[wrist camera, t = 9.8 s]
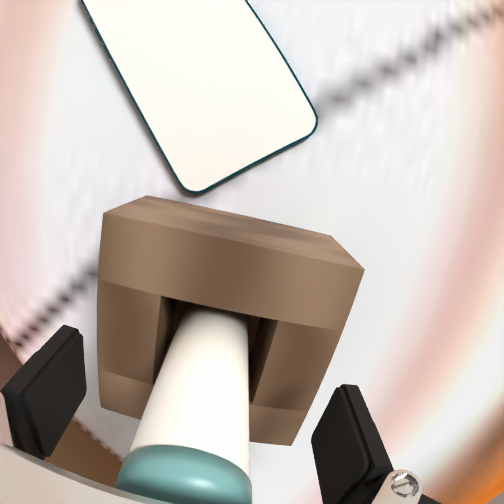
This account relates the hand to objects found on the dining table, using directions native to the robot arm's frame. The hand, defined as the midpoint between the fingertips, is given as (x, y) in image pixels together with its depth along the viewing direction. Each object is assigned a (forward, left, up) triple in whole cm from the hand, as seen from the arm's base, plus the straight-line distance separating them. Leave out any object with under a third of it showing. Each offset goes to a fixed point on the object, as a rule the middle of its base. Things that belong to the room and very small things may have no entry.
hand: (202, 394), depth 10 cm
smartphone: (+5, -14, -8) cm, 17 cm away
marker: (0, 0, -7) cm, 7 cm away
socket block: (0, 0, -8) cm, 8 cm away
